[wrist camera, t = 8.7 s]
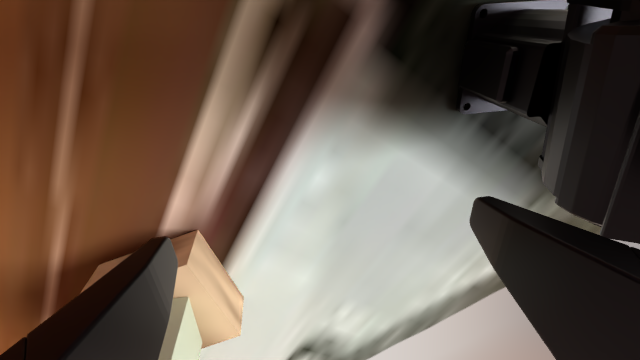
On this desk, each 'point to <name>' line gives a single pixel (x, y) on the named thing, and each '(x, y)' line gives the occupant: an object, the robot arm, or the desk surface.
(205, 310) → the oak block
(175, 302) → the cube
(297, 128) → the desk surface
